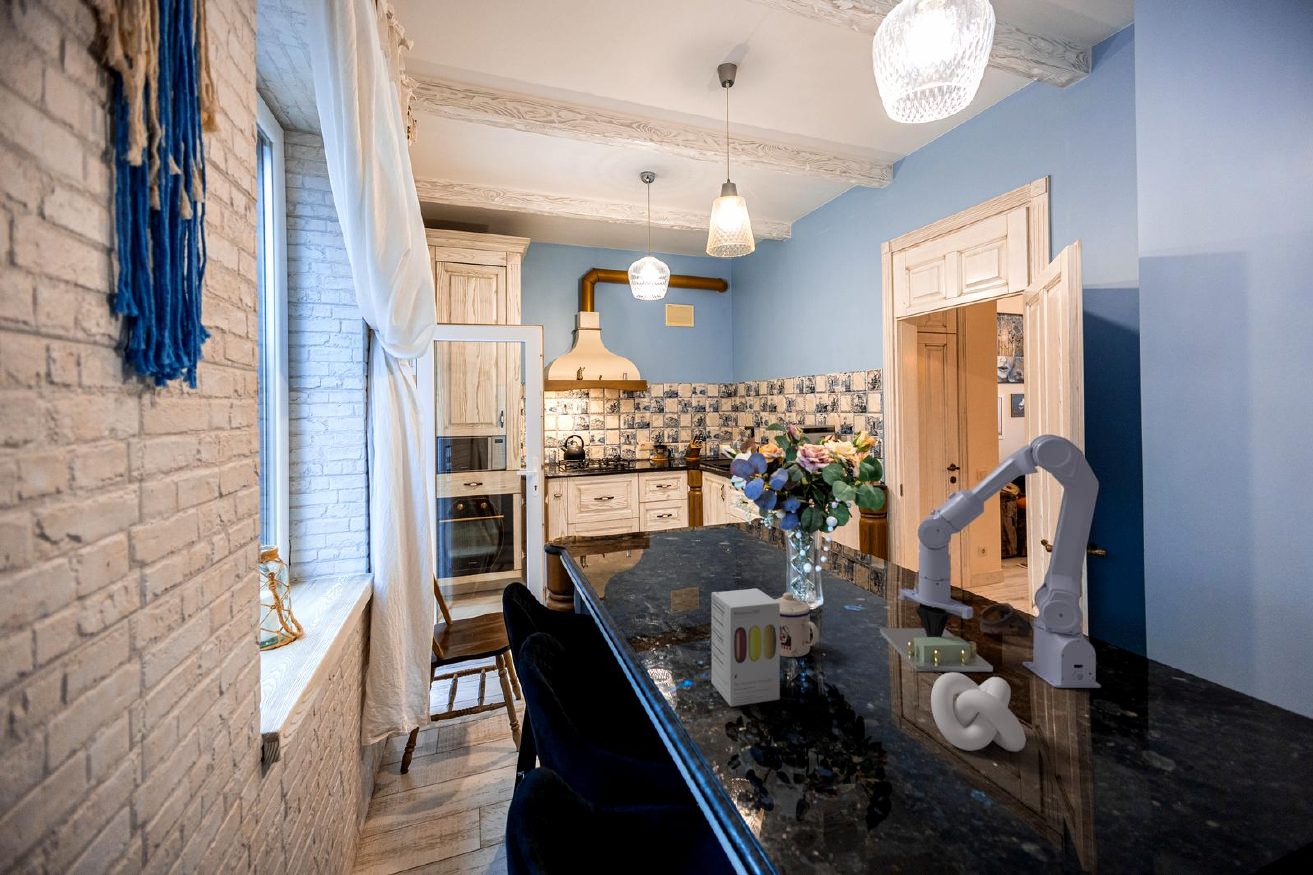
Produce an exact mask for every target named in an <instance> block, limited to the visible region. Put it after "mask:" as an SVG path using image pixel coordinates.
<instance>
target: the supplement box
mask: <svg viewBox="0 0 1313 875" xmlns="http://www.w3.org/2000/svg"><path fill="white" fill-rule="evenodd" d="M780 657H781V656H780V603H779V602H777V601H776V600H775V599H774V597H771V596H769V595H768V594H767V593H765V592H763V591H762V590H760V589H758V588H756V587H755V588H749V589H737V590H728V591H712V592H711V684H712V685H713V686H714V688H715V689H716V690H717V691H718V693H719V694H720V696H721V697H723V699H724V701H725V702H726V703H727V704H728V705H729V706H730V707H732V708H733V707H736V706H737V707H738V706H745V705H750V704H757V703H763V702H770V701H777V700H780V698H781V696H780V695H781V694H780V687H781V686H780V685H781V684H780V682H781V681H780V680H781V679H780V678H781V675H780V673H781V672H780V668H781V667H780V661H781V658H780Z"/></svg>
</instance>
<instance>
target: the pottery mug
mask: <svg viewBox="0 0 1313 875" xmlns="http://www.w3.org/2000/svg"><path fill="white" fill-rule="evenodd" d="M993 613H996V615H998V617H999V618H1000V619H997V620H987V619H986V618H987V617H989V615H991V614H993ZM979 615H980V617H979V621H980V626H979V627H980V628H979V629H980V632H981V634H982V635H985V634H991V635H993V634H1001V633H1006V634H1008V635H1011V634H1012V633H1011V631H1010V630H1011V629H1012V630H1013V629H1015V628H1016V627H1017V630H1018V633H1019V634H1018V635H1021V636H1028V637H1029V638H1030V639H1031V640H1030V641H1031V643H1032V644H1033V645H1034V629H1033V628H1032V627H1033V626H1032V624H1031V622H1030V621H1029V619H1028V618H1027V616H1025V614H1024V613H1022V612H1021V611H1020V610H1018V609H1016V608H1015V607H1014V606H1013V605H1012V604H1010V603H1008V602H1000V603H995V604H993V603H992V604H991V605H988V606H987V607H985V608H984V609H983V610H981V611H980V614H979Z"/></svg>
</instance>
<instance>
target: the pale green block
mask: <svg viewBox="0 0 1313 875" xmlns="http://www.w3.org/2000/svg"><path fill="white" fill-rule="evenodd" d="M914 642H915V654H916V655H917V656H919V657H920V658H921V659H922V660H923V661H934V650H935V649H939V650H941V661H951V660H961V650H962V649H966V650H968V651H969V660H970V644H969V642H967V641H966V640H964V639H963V638H961V637H960V636H955V637H919V638H914Z"/></svg>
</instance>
